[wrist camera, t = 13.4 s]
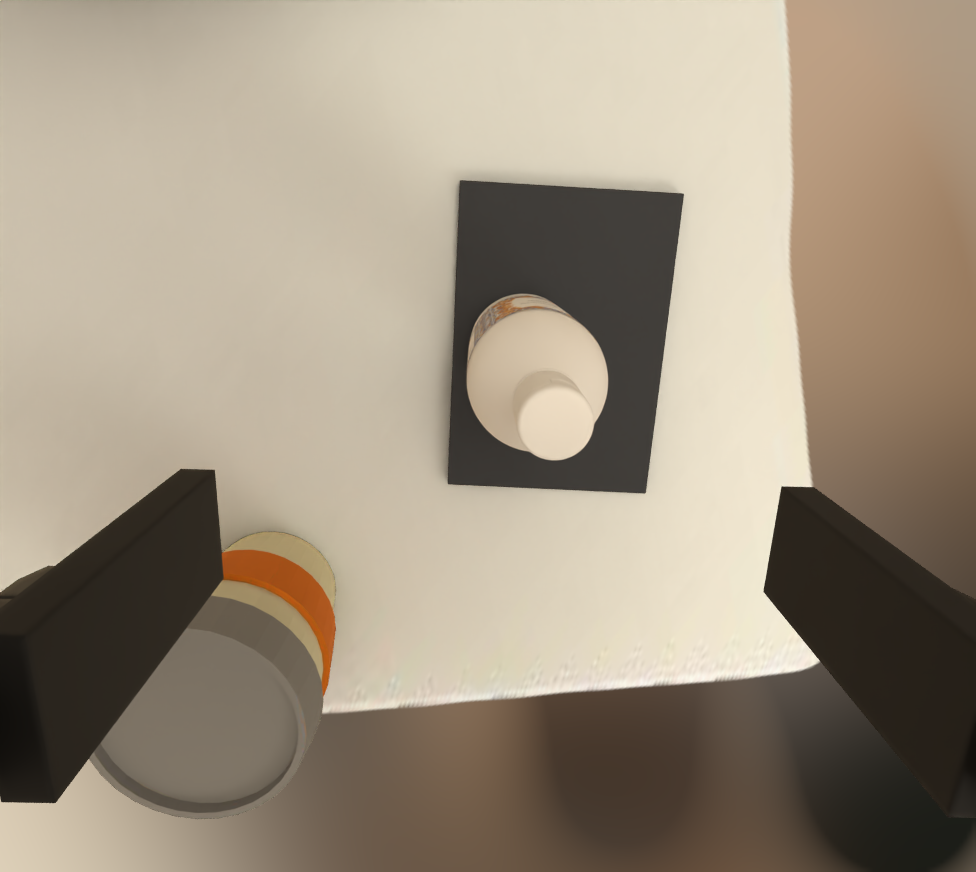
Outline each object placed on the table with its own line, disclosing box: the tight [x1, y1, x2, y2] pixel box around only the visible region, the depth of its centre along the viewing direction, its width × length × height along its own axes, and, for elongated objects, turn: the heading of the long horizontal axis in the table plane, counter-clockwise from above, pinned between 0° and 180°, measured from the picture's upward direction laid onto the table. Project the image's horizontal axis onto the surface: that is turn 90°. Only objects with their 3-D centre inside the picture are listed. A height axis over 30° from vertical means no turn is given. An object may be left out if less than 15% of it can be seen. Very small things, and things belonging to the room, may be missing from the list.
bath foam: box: [466, 294, 608, 460], centre depth 34 cm, size 7×7×20 cm
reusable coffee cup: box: [89, 532, 336, 819], centre depth 42 cm, size 13×13×15 cm
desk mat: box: [448, 180, 684, 493], centre depth 44 cm, size 20×14×1 cm
